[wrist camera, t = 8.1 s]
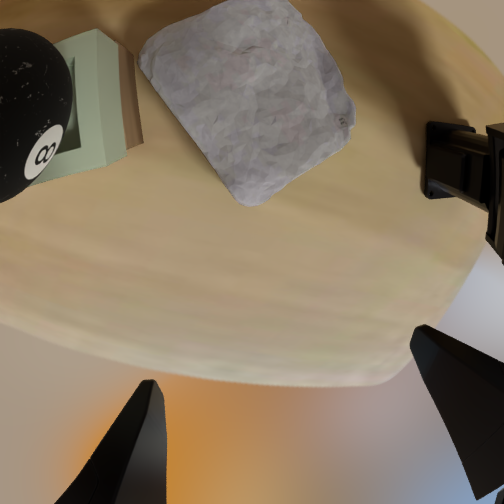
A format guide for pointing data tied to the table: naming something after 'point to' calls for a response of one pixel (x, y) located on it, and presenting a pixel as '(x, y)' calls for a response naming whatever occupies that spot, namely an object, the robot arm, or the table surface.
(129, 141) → the tower base
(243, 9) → the stone block
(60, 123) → the billiard ball
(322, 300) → the table surface
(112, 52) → the tower cap
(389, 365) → the table surface
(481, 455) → the robot arm
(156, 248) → the table surface
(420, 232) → the table surface
